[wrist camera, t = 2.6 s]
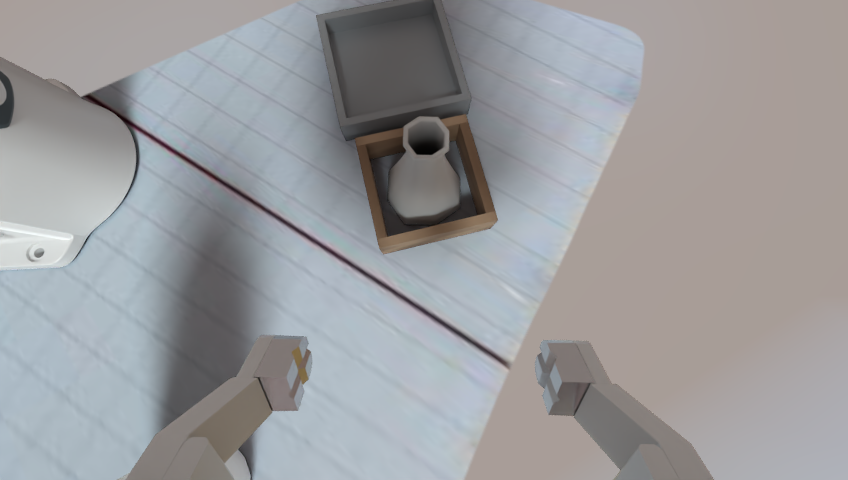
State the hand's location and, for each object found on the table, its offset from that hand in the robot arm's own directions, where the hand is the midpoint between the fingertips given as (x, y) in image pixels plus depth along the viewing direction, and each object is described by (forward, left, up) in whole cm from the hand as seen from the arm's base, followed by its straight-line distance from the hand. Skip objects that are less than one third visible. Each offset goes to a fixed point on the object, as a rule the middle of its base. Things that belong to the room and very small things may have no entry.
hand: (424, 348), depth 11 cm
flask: (+3, +12, -18) cm, 22 cm away
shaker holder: (+3, +12, -18) cm, 22 cm away
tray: (+3, +25, -18) cm, 31 cm away
